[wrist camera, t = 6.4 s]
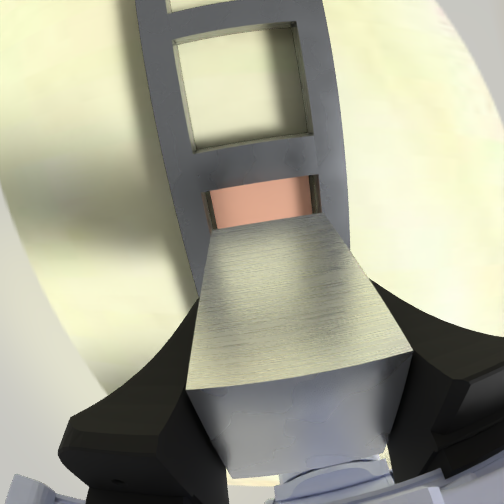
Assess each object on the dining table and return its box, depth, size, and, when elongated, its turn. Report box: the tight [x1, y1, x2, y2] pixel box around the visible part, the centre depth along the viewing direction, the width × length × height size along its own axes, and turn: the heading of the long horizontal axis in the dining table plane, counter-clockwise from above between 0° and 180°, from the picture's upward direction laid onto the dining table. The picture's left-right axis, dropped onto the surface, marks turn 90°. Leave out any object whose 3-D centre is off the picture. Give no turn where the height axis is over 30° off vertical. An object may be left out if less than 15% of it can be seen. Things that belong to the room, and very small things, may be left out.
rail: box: [135, 0, 350, 297], centre depth 16 cm, size 22×9×2 cm, turn 9°
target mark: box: [210, 176, 312, 229], centre depth 18 cm, size 5×5×1 cm
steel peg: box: [186, 213, 413, 479], centre depth 10 cm, size 4×4×8 cm
